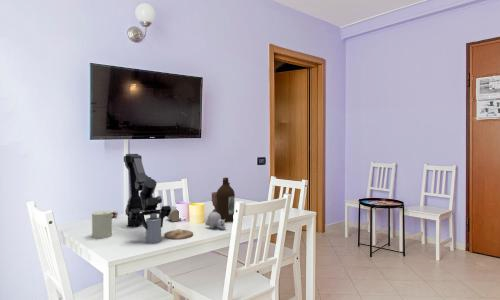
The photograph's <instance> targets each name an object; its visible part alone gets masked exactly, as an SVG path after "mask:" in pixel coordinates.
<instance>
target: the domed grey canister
mask: <svg viewBox="0 0 500 300" xmlns="http://www.w3.org/2000/svg"><path fill="white" fill-rule="evenodd" d="M149 216H150V217H147V218H145V221H146V224H147V230H146V229H145V243H146V244H159V243H161V242H162V228H161V218H159V217H158V214H157V213H151V214H150V215H149Z"/></svg>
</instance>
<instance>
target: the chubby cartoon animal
mask: <svg viewBox="0 0 500 300" xmlns="http://www.w3.org/2000/svg"><path fill="white" fill-rule="evenodd" d="M204 224H205V226H207V227H209V229H210V230H213V229H214V228H215V229H216V228H220V229H221V230H223V231H224V230H225V229H226V228H227V224H226V222H225V219H224V220H222V219H221V216H220V214H219V213H217V212H212V211H211V212H210V213H209V214H208V216H207V219H206V221H205V222H204Z"/></svg>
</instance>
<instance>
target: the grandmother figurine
mask: <svg viewBox="0 0 500 300" xmlns="http://www.w3.org/2000/svg"><path fill="white" fill-rule="evenodd" d="M118 214H119V211H118V210H113V211H112V218H114V217H118Z"/></svg>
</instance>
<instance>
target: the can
mask: <svg viewBox="0 0 500 300" xmlns="http://www.w3.org/2000/svg"><path fill="white" fill-rule="evenodd" d="M112 212H113V211H111V210H98V211H93V212H92V213H91V231H92V233H91V237H92V238H93V239H105V238H110V237H112V236H113V226H112V225H113V217H112Z"/></svg>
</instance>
